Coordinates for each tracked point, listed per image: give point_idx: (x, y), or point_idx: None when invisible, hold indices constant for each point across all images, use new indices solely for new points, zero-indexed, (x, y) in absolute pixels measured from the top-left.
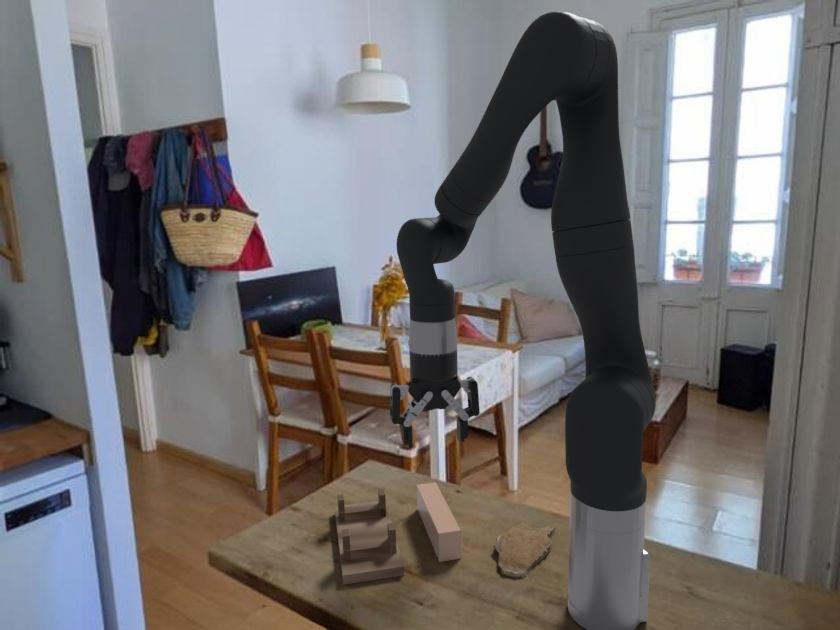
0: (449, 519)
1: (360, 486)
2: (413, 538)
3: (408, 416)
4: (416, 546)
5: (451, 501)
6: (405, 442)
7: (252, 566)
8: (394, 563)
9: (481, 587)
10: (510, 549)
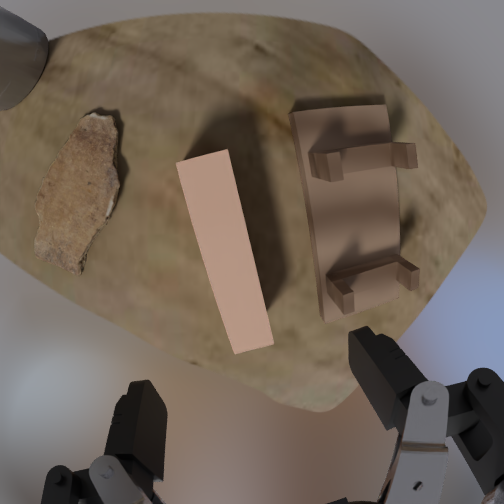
0: (201, 208)
1: None
2: (272, 224)
3: (442, 427)
4: (267, 198)
5: (203, 338)
6: (385, 340)
7: (468, 171)
8: (310, 121)
9: (153, 83)
10: (93, 176)
